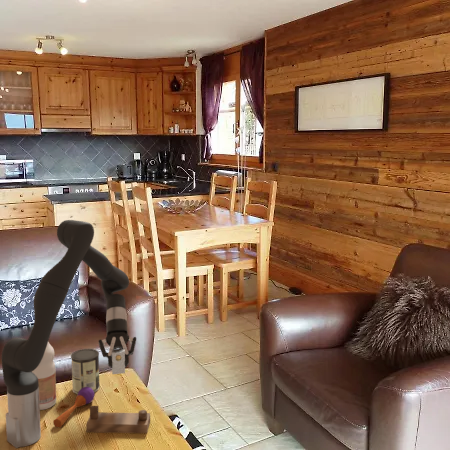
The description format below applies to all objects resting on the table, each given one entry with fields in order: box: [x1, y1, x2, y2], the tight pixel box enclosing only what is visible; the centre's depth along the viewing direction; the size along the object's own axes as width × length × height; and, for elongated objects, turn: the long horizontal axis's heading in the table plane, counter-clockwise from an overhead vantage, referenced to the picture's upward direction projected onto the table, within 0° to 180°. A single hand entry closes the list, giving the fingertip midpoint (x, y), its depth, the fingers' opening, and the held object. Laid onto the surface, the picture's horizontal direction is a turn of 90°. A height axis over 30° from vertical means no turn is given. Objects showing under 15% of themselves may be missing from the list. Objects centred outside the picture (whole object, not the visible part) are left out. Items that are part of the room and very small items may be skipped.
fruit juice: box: [32, 341, 57, 411], centre depth 177 cm, size 9×9×28 cm
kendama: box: [52, 387, 95, 428], centre depth 174 cm, size 6×6×20 cm
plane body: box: [85, 405, 151, 434], centre depth 166 cm, size 20×7×7 cm, turn 91°
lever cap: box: [111, 349, 126, 375], centre depth 176 cm, size 4×3×8 cm
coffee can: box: [70, 348, 100, 395], centre depth 190 cm, size 10×10×14 cm
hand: (118, 366), depth 174 cm, fingers closed on lever cap, 4 cm apart
